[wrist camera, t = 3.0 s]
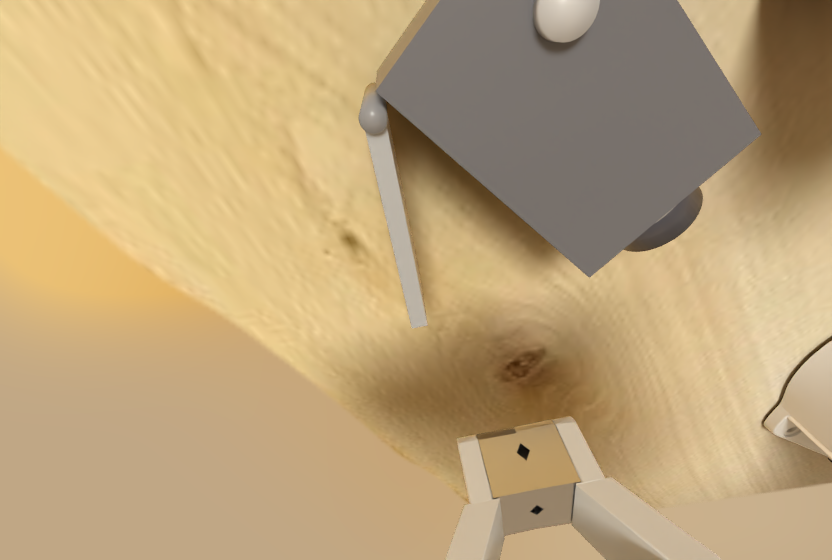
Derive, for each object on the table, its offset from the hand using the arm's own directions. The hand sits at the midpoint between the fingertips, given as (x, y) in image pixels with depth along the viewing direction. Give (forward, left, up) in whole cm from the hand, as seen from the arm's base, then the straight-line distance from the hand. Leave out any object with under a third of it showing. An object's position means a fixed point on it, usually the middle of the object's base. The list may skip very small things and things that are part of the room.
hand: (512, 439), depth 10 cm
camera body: (0, -7, -15) cm, 17 cm away
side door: (+3, 0, -15) cm, 15 cm away
